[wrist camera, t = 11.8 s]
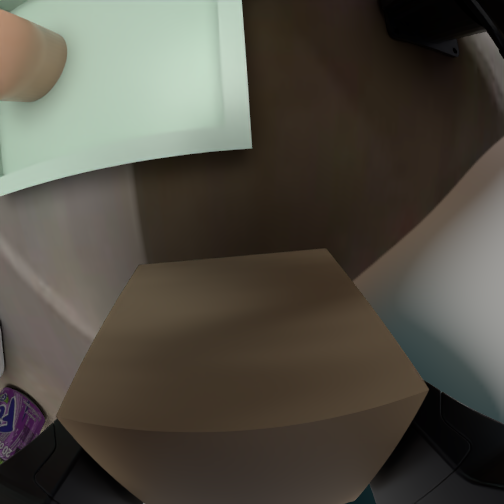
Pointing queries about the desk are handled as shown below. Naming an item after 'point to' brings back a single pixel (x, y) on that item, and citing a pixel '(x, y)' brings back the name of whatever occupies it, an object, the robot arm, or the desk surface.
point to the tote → (129, 87)
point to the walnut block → (243, 384)
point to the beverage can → (17, 422)
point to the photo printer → (1, 356)
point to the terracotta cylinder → (28, 59)
